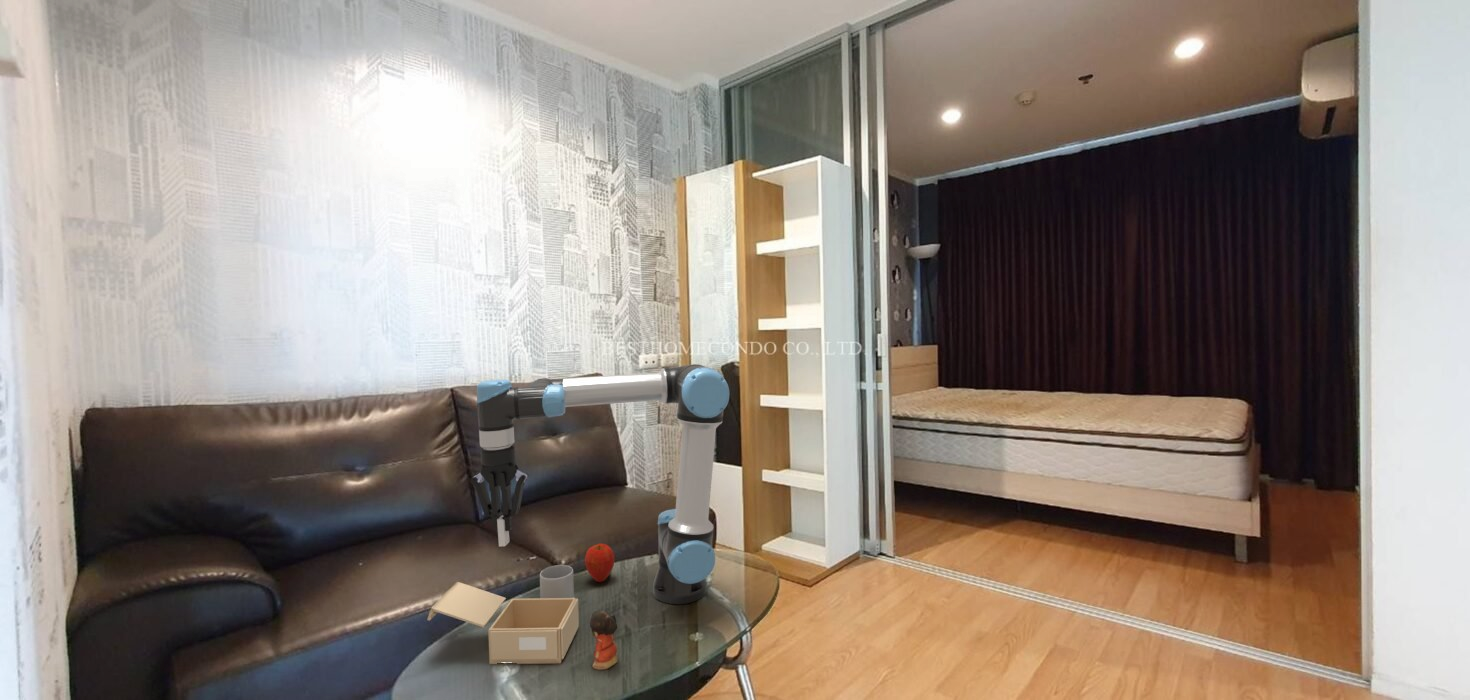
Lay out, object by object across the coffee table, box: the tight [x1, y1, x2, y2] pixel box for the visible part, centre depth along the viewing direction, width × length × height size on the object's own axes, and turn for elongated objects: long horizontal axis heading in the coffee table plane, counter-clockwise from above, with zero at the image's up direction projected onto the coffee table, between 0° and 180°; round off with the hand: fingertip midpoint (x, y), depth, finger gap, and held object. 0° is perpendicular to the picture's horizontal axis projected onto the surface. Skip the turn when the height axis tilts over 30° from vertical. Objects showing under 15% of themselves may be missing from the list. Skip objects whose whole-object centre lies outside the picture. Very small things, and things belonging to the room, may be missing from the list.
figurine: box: [589, 610, 619, 670], centre depth 131 cm, size 6×6×12 cm
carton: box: [488, 597, 580, 665], centre depth 138 cm, size 16×15×8 cm
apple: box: [584, 543, 615, 583], centre depth 171 cm, size 9×8×11 cm
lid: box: [426, 581, 507, 628], centre depth 137 cm, size 12×13×3 cm
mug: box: [539, 564, 575, 598], centre depth 155 cm, size 12×8×11 cm
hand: (504, 543), depth 138 cm, fingers closed
